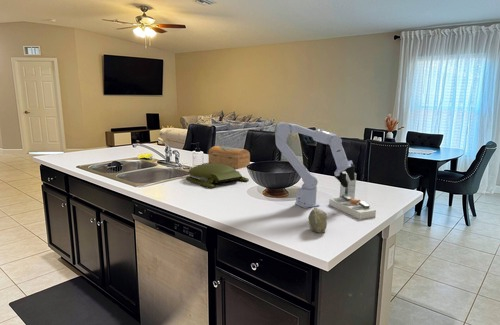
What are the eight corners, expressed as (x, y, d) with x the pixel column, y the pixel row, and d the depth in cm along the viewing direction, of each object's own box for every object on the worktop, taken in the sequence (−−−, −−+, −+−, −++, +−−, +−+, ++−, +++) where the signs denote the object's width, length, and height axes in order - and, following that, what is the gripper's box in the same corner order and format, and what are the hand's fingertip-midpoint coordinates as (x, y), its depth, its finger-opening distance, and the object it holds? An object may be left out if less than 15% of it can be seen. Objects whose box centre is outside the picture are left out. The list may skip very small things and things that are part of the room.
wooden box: (251, 166, 264) (251, 148, 261) (237, 169, 252) (237, 150, 249) (222, 161, 283) (222, 144, 280) (208, 164, 270) (208, 146, 267)
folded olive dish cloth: (250, 181, 217) (250, 166, 215) (209, 190, 197) (209, 173, 196) (218, 172, 243) (218, 158, 241) (179, 178, 224) (179, 163, 222)
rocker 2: (364, 208, 156) (365, 206, 156) (358, 204, 160) (358, 201, 159) (369, 207, 157) (369, 205, 157) (362, 203, 161) (363, 201, 160)
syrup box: (338, 198, 183) (340, 171, 180) (348, 197, 185) (350, 170, 182) (345, 201, 177) (347, 174, 175) (354, 200, 179) (356, 173, 177)
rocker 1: (356, 203, 161) (356, 200, 161) (349, 202, 165) (349, 199, 165) (360, 202, 162) (360, 199, 162) (354, 201, 166) (353, 199, 166)
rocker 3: (347, 201, 167) (347, 198, 166) (341, 197, 170) (341, 194, 170) (351, 200, 168) (351, 198, 167) (345, 196, 171) (346, 194, 171)
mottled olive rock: (315, 239, 135) (312, 219, 131) (303, 229, 143) (300, 209, 138) (334, 229, 138) (332, 209, 134) (322, 219, 145) (319, 200, 141)
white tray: (359, 219, 152) (360, 212, 151) (329, 204, 172) (329, 198, 171) (375, 216, 156) (376, 209, 155) (343, 202, 175) (343, 196, 175)
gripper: (340, 162, 159) (349, 189, 161) (354, 151, 168) (363, 176, 170) (327, 164, 164) (336, 190, 166) (342, 153, 173) (350, 177, 176)
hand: (349, 183), depth 169 cm, fingers open, 7 cm apart
